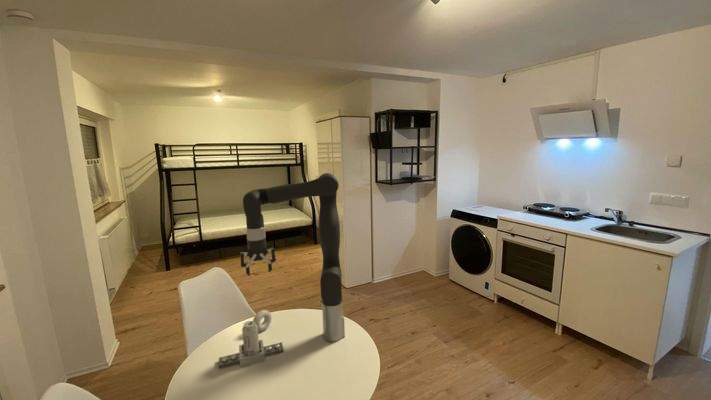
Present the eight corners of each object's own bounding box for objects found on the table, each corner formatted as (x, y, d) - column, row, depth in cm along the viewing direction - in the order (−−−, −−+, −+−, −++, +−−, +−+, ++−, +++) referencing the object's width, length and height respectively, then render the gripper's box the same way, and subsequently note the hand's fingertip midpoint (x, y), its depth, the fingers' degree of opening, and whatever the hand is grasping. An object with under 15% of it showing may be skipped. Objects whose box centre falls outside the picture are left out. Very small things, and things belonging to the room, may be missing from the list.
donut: (269, 324, 153) (267, 305, 151) (273, 326, 151) (272, 307, 149) (252, 334, 145) (250, 314, 143) (256, 336, 143) (254, 316, 141)
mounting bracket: (281, 342, 138) (280, 335, 138) (284, 355, 130) (284, 348, 129) (219, 357, 129) (218, 350, 129) (218, 372, 120) (217, 364, 120)
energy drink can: (241, 359, 128) (238, 326, 125) (251, 350, 133) (248, 318, 131) (253, 362, 126) (250, 329, 123) (262, 353, 131) (260, 321, 129)
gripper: (272, 233, 136) (275, 267, 139) (238, 237, 131) (241, 272, 134) (274, 237, 129) (277, 273, 132) (238, 242, 124) (242, 279, 127)
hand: (259, 273), depth 133 cm, fingers open, 8 cm apart
